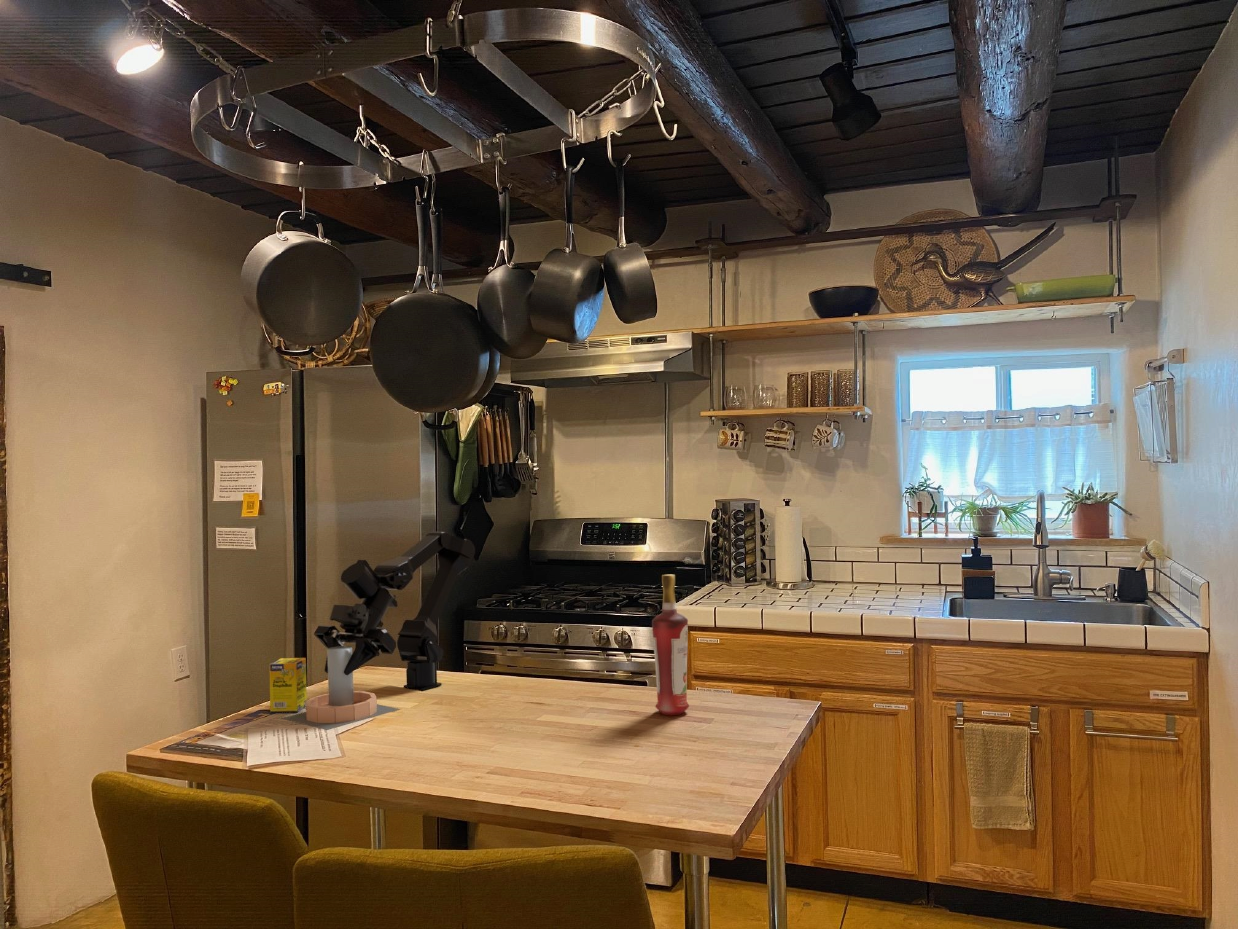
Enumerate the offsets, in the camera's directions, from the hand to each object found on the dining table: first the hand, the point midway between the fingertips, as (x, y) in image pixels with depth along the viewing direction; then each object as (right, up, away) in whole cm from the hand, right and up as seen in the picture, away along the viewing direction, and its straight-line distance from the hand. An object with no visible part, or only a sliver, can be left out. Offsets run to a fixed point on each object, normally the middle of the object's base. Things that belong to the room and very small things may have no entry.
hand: (335, 673), depth 189 cm
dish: (+1, -9, +1) cm, 9 cm away
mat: (+1, -9, +1) cm, 9 cm away
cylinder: (+1, -7, +1) cm, 7 cm away
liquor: (+70, -7, -4) cm, 70 cm away
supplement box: (-12, -10, +6) cm, 16 cm away
